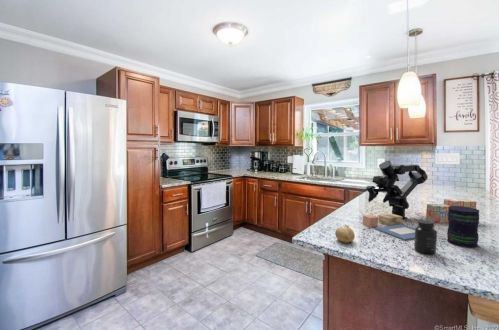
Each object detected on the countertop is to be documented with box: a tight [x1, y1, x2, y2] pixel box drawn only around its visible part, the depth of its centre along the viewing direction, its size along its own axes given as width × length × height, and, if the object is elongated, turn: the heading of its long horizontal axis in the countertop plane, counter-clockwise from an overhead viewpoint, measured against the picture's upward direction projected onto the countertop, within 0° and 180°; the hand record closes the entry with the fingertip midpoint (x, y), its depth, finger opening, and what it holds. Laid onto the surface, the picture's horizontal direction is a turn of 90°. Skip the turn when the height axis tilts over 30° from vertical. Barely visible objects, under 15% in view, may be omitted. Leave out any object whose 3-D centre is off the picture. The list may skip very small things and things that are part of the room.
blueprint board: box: [374, 223, 416, 241], centre depth 113 cm, size 18×16×1 cm
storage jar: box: [446, 206, 480, 249], centre depth 99 cm, size 10×10×15 cm
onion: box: [334, 224, 356, 244], centre depth 102 cm, size 8×8×7 cm
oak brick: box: [378, 213, 404, 226], centre depth 128 cm, size 10×6×4 cm, turn 105°
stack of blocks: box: [425, 198, 477, 224], centre depth 130 cm, size 21×6×12 cm, turn 84°
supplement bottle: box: [413, 219, 438, 256], centre depth 91 cm, size 7×7×12 cm
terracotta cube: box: [362, 214, 379, 228], centre depth 124 cm, size 5×5×5 cm
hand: (375, 201), depth 127 cm, fingers open, 9 cm apart
